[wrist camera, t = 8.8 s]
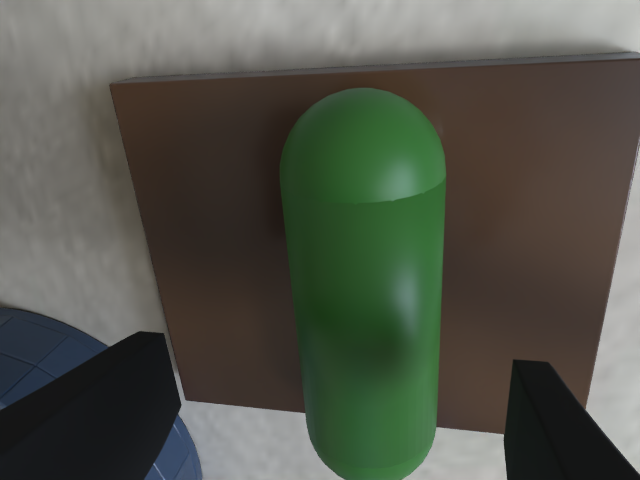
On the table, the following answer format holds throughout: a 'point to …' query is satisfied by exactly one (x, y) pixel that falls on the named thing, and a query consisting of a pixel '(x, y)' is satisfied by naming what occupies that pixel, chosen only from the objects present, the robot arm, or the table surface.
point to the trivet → (459, 224)
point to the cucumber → (366, 278)
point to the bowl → (57, 359)
